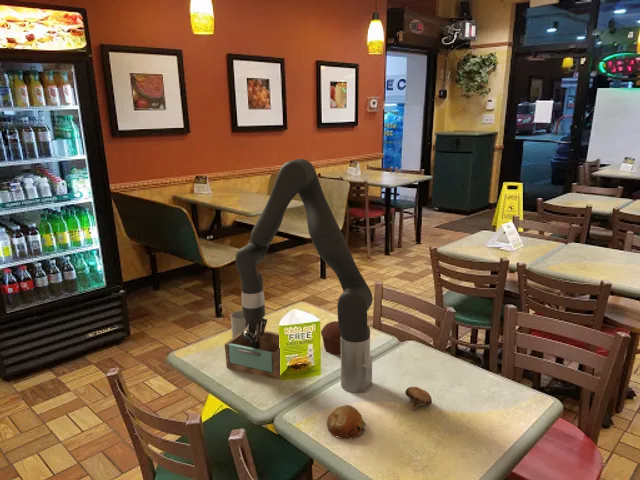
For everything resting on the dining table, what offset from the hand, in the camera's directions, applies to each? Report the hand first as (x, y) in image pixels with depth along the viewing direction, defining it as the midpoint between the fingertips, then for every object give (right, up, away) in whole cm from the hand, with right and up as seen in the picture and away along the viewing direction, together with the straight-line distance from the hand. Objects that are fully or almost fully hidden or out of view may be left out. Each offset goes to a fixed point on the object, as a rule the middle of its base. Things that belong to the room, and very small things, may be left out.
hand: (256, 350), depth 162 cm
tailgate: (-2, -5, -2) cm, 6 cm away
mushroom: (+51, -12, -21) cm, 56 cm away
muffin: (+28, -3, +14) cm, 31 cm away
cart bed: (+1, -6, +4) cm, 7 cm away
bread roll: (+29, -15, -30) cm, 45 cm away
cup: (-8, -1, +24) cm, 25 cm away
